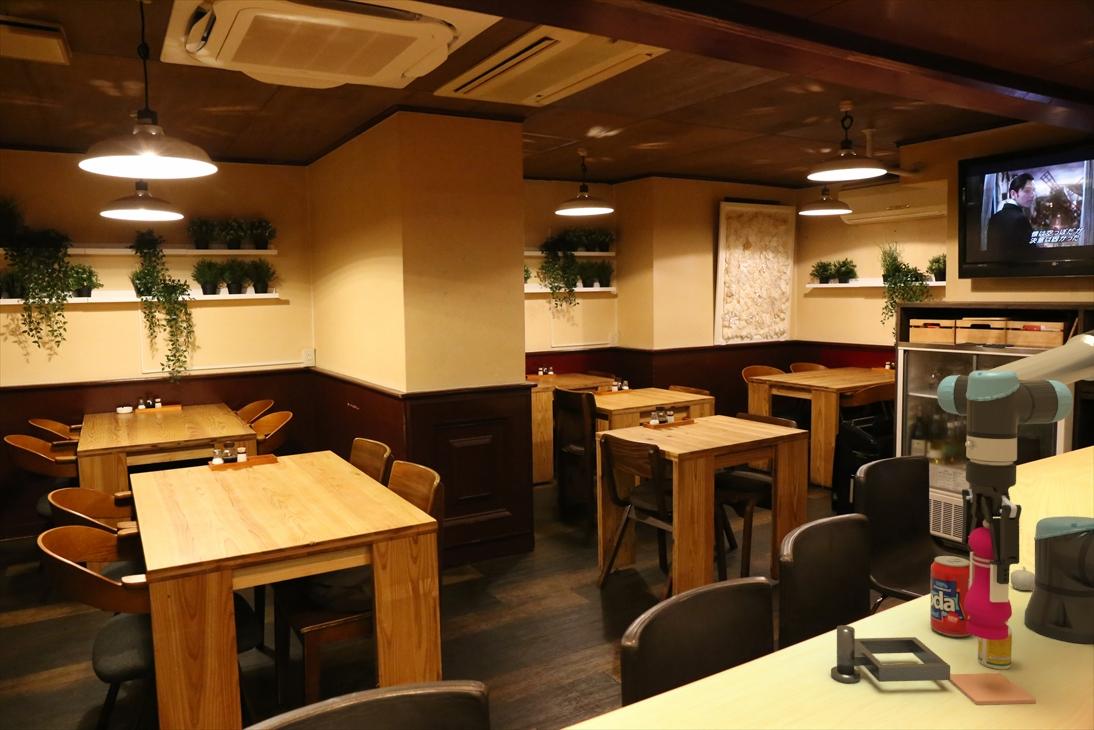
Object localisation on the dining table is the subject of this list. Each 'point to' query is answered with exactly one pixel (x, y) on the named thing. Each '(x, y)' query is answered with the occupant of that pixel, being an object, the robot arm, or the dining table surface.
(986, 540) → the pepper mill
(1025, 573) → the garlic
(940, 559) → the soda can
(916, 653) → the square frame with post
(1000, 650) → the supplement bottle
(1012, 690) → the terracotta tile
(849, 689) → the dining table surface
